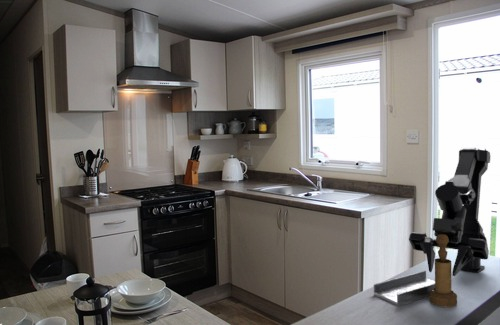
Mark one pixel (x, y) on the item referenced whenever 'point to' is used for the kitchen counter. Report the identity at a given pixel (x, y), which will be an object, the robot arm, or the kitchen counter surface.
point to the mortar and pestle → (443, 277)
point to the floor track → (405, 288)
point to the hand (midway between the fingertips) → (441, 273)
